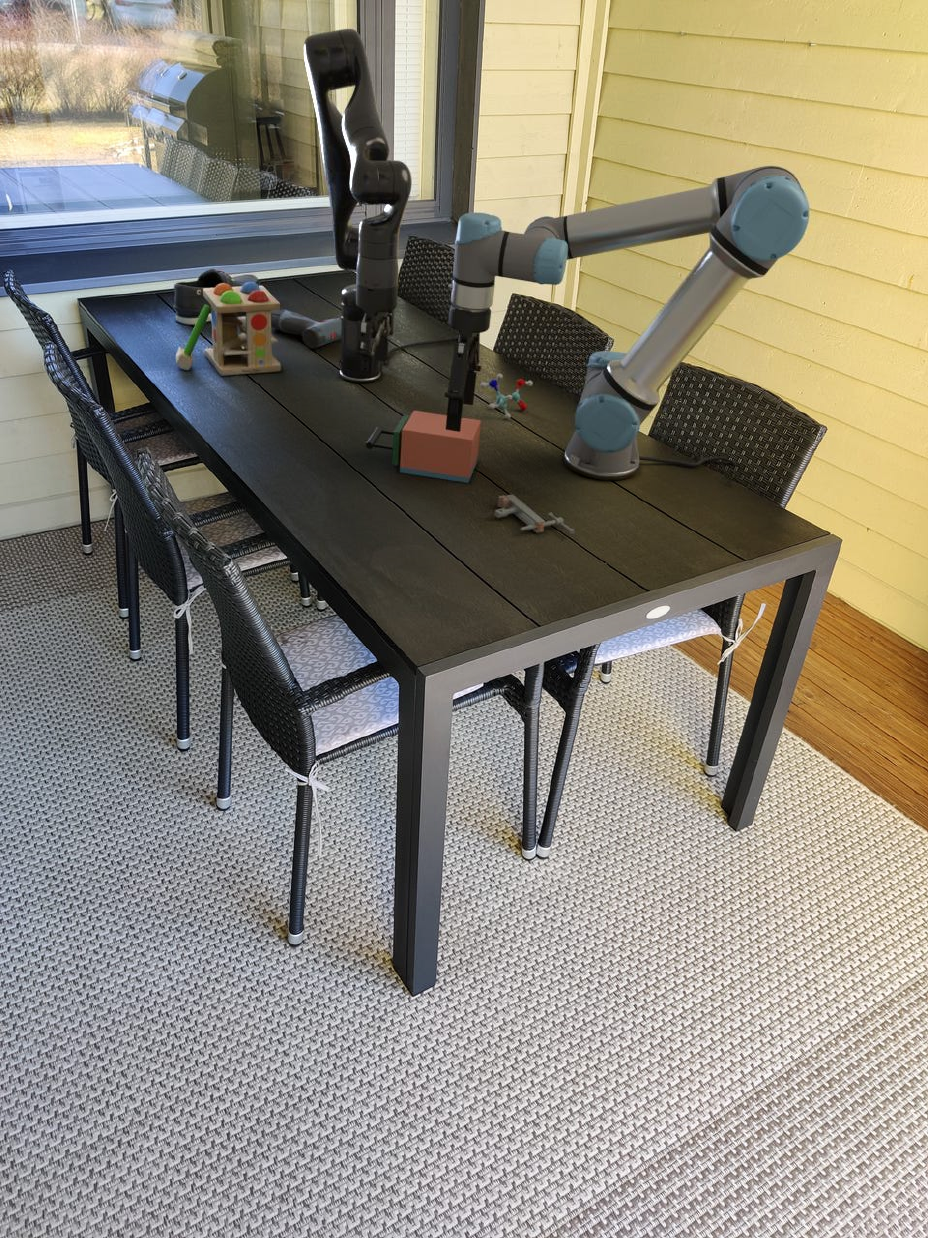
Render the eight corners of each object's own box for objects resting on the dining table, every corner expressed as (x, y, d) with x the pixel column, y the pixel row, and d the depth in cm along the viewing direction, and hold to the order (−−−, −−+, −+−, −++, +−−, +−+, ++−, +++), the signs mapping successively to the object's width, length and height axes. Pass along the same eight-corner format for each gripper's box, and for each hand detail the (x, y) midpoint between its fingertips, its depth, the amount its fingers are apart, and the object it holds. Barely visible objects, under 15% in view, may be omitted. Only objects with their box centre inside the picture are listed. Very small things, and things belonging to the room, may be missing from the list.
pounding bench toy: (183, 379, 220) (176, 299, 210) (169, 357, 231) (162, 280, 221) (282, 371, 230) (280, 294, 220) (264, 350, 240) (262, 276, 230)
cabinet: (399, 472, 191) (402, 429, 186) (411, 451, 200) (413, 410, 195) (468, 482, 190) (472, 440, 185) (477, 461, 198) (481, 420, 193)
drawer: (364, 460, 192) (365, 427, 188) (376, 442, 199) (377, 410, 195) (453, 474, 190) (456, 441, 186) (462, 456, 197) (465, 423, 194)
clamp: (484, 498, 180) (530, 489, 184) (483, 509, 181) (528, 500, 186) (529, 536, 169) (576, 526, 174) (527, 547, 171) (574, 537, 175)
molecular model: (528, 411, 213) (513, 366, 211) (488, 425, 216) (474, 381, 215) (541, 408, 223) (527, 366, 222) (503, 422, 227) (489, 380, 225)
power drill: (305, 316, 264) (364, 334, 256) (257, 332, 251) (318, 351, 243) (305, 296, 261) (365, 314, 253) (257, 311, 248) (318, 330, 240)
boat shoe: (280, 303, 273) (279, 264, 268) (193, 326, 249) (189, 285, 244) (246, 294, 279) (244, 257, 273) (158, 317, 255) (153, 276, 250)
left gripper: (370, 268, 183) (368, 353, 192) (343, 287, 172) (342, 376, 181) (408, 274, 182) (404, 359, 191) (384, 293, 170) (380, 383, 179)
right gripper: (463, 284, 187) (453, 390, 199) (436, 322, 166) (426, 438, 178) (501, 290, 186) (489, 396, 198) (479, 329, 166) (467, 445, 178)
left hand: (374, 367), depth 186 cm, fingers open, 8 cm apart
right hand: (459, 416), depth 188 cm, fingers open, 13 cm apart
